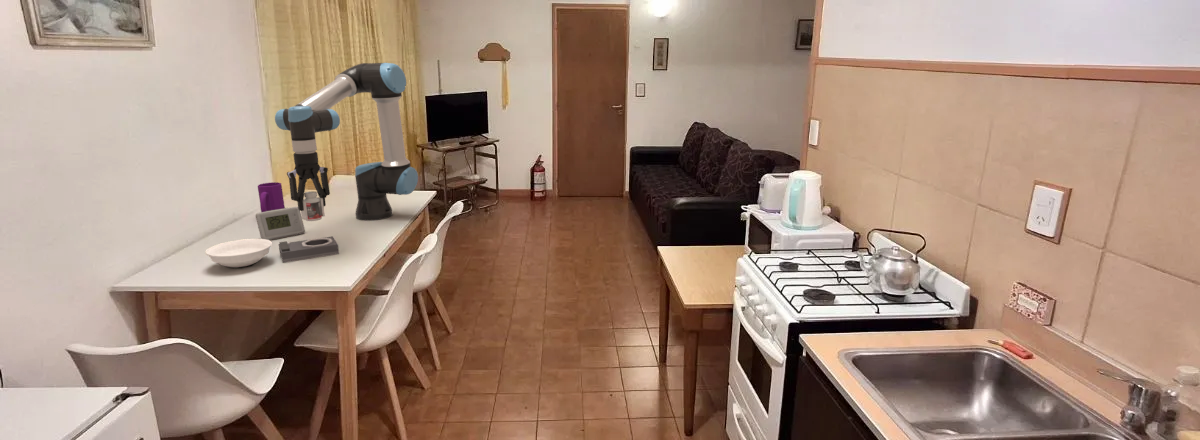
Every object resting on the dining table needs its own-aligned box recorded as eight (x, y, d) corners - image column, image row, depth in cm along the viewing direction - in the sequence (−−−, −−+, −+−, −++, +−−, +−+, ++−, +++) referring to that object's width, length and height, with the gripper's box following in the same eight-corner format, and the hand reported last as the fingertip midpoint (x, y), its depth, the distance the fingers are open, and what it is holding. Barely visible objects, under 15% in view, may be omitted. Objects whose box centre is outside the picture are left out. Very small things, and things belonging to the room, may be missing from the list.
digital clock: (260, 242, 240) (255, 215, 238) (258, 237, 248) (254, 210, 245) (306, 235, 249) (303, 209, 246) (303, 230, 256) (299, 204, 253)
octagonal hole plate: (333, 245, 236) (332, 234, 235) (338, 253, 226) (337, 242, 225) (279, 253, 227) (278, 241, 226) (282, 262, 217) (281, 250, 216)
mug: (289, 215, 281) (284, 181, 277) (276, 224, 266) (271, 189, 262) (267, 216, 279) (262, 182, 276) (253, 225, 265) (247, 190, 261)
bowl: (204, 278, 203) (200, 259, 201) (212, 260, 220) (209, 242, 219) (273, 269, 210) (270, 251, 209) (276, 252, 228) (273, 235, 226)
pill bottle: (305, 222, 221) (301, 194, 219) (305, 218, 226) (302, 191, 223) (322, 220, 223) (318, 193, 221) (322, 217, 228) (318, 190, 225)
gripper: (325, 147, 228) (332, 211, 234) (272, 154, 214) (282, 221, 220) (336, 149, 223) (343, 214, 229) (283, 156, 209) (292, 224, 215)
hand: (313, 217), depth 224 cm, fingers closed on pill bottle, 5 cm apart
